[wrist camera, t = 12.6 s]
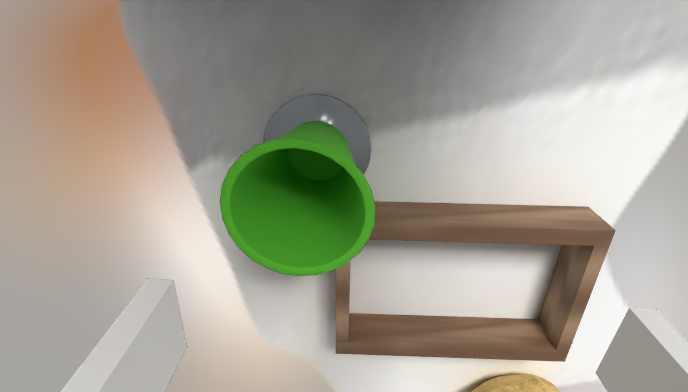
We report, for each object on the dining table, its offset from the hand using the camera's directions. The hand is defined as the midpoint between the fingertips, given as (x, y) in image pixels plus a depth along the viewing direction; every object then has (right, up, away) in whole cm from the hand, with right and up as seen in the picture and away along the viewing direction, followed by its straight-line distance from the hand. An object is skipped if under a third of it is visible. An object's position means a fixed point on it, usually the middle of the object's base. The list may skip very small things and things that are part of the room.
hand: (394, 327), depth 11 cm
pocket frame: (+9, -4, +26) cm, 28 cm away
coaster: (-4, +8, +21) cm, 23 cm away
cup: (-4, +8, +20) cm, 22 cm away
